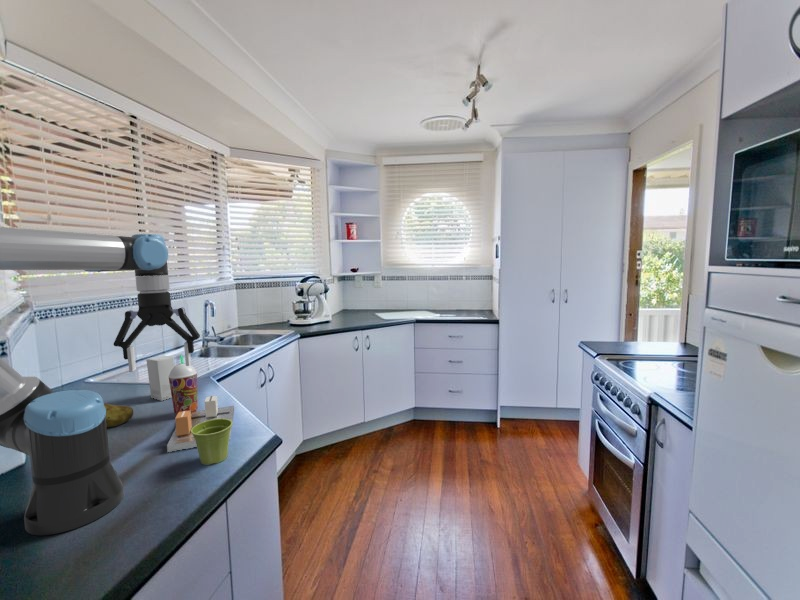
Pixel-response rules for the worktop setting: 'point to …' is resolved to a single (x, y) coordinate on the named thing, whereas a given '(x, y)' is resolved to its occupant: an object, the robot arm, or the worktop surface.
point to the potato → (117, 414)
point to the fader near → (183, 423)
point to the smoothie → (183, 387)
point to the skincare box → (160, 376)
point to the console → (196, 418)
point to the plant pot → (212, 440)
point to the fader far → (211, 406)
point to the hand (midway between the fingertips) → (161, 367)
